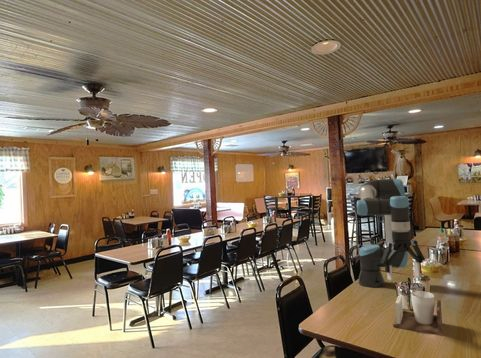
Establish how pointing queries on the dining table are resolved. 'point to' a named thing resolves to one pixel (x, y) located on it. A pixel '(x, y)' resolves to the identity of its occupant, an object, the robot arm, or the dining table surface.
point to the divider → (399, 309)
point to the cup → (423, 306)
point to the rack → (411, 324)
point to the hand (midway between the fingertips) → (403, 278)
